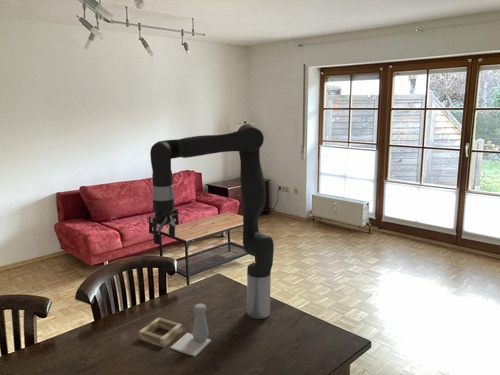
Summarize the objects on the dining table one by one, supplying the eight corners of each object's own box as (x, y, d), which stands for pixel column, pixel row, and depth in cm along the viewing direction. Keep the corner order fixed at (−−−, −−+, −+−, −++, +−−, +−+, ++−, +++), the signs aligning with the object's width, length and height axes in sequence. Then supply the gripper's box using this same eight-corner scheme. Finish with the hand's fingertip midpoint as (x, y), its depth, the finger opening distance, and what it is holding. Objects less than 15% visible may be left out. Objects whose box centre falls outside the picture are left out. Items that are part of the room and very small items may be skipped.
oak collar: (158, 324, 151) (158, 317, 150) (182, 331, 146) (182, 324, 145) (138, 339, 141) (138, 331, 140) (163, 347, 136) (163, 339, 136)
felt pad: (187, 334, 144) (187, 332, 144) (211, 341, 140) (211, 339, 140) (170, 348, 136) (170, 347, 136) (195, 356, 131) (195, 355, 131)
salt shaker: (188, 339, 140) (188, 305, 138) (201, 332, 144) (201, 299, 142) (199, 345, 136) (198, 311, 134) (212, 339, 140) (211, 305, 138)
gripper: (158, 202, 134) (160, 248, 137) (183, 194, 147) (184, 236, 150) (141, 200, 137) (143, 244, 141) (167, 192, 150) (168, 233, 153)
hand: (164, 240), depth 145 cm, fingers open, 8 cm apart
